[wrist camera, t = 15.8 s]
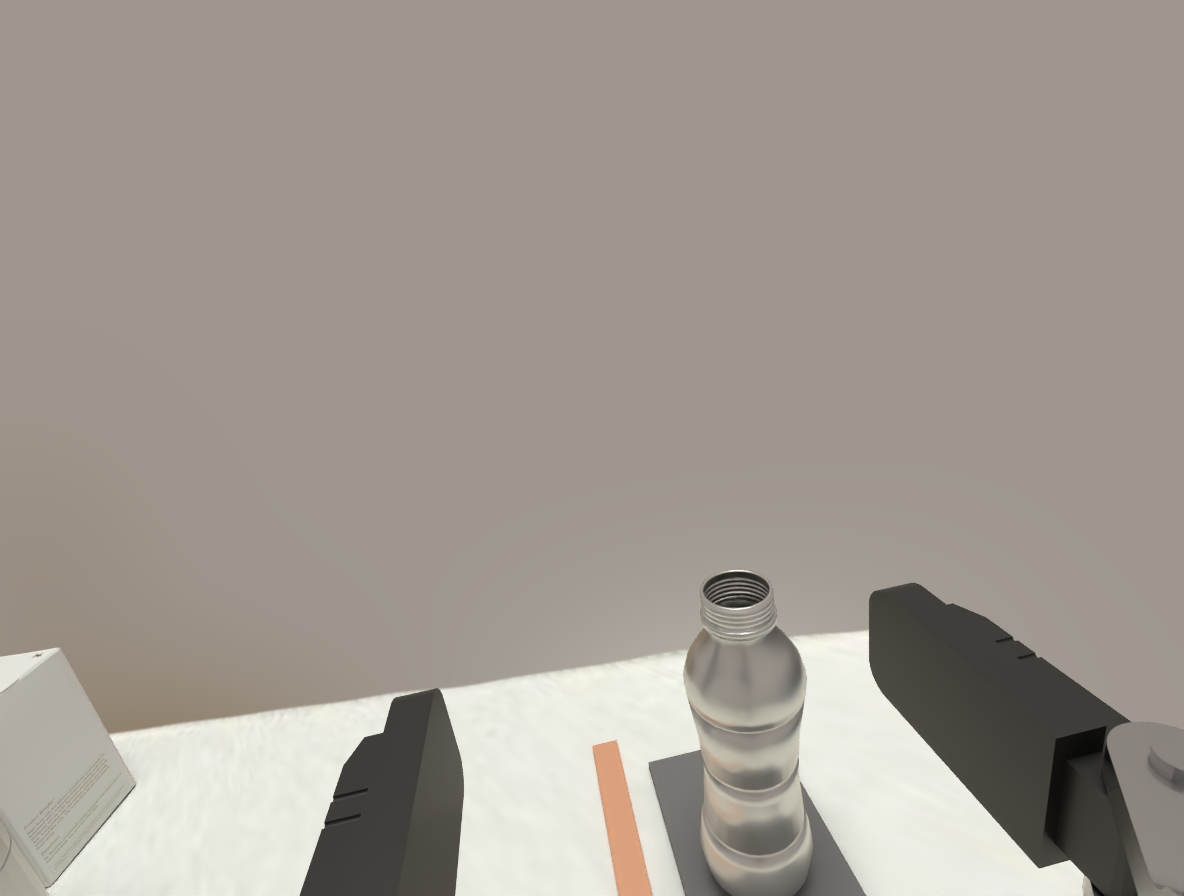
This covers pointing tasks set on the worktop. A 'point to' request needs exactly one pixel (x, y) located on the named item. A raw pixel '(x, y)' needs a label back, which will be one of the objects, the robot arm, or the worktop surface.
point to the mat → (681, 796)
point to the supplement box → (53, 762)
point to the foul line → (620, 823)
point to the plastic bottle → (749, 738)
